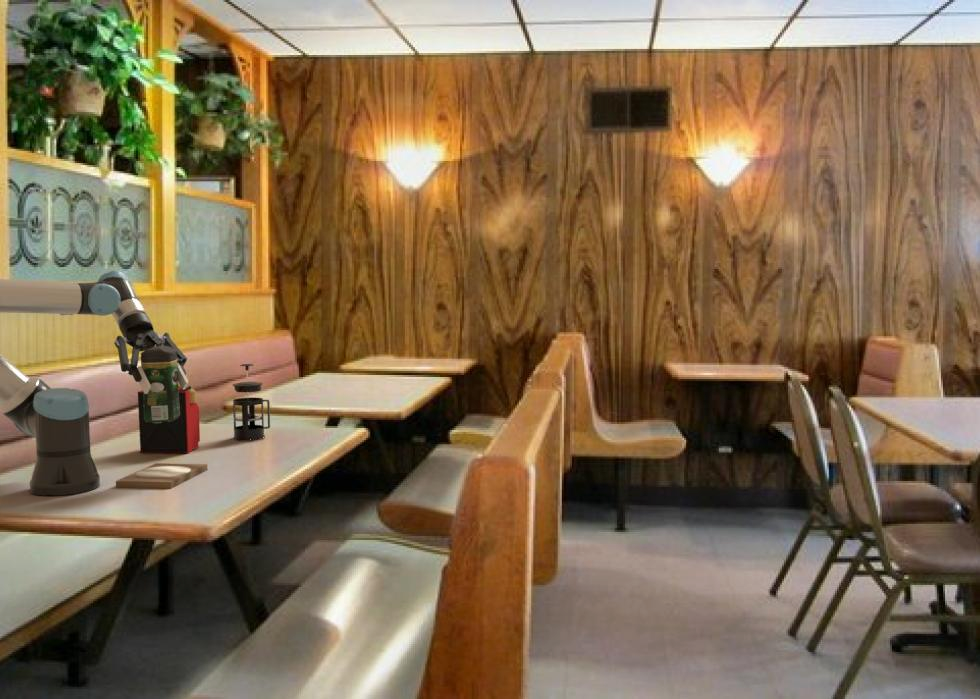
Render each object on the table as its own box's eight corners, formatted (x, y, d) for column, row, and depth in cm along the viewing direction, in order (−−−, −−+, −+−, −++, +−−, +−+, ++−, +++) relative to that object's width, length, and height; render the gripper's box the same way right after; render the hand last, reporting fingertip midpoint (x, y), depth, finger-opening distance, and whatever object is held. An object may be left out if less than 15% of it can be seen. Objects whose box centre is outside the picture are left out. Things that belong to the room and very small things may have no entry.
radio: (203, 447, 267) (201, 379, 265) (188, 454, 257) (186, 383, 255) (152, 446, 269) (149, 379, 267) (135, 453, 259) (132, 383, 257)
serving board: (171, 488, 216) (171, 481, 216) (115, 487, 218) (115, 480, 218) (207, 469, 236) (207, 463, 236) (156, 468, 238) (156, 462, 238)
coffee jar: (151, 417, 231) (148, 344, 229) (183, 416, 231) (180, 344, 229) (139, 424, 221) (135, 348, 219) (172, 423, 221) (169, 347, 220)
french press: (227, 440, 277) (225, 365, 275) (235, 435, 286) (233, 362, 284) (266, 440, 277) (264, 365, 275) (273, 434, 286) (271, 362, 284)
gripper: (168, 328, 242) (202, 393, 233) (86, 333, 226) (119, 402, 217) (177, 309, 238) (212, 373, 229) (94, 313, 222) (128, 382, 213)
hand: (167, 388), depth 223 cm, fingers closed on coffee jar, 9 cm apart
